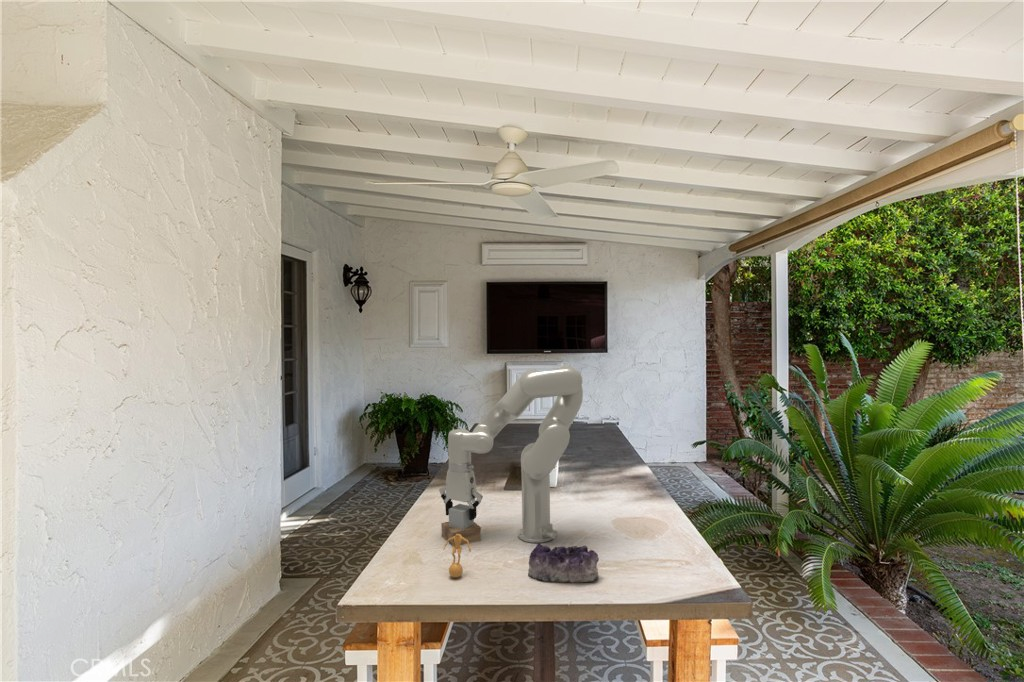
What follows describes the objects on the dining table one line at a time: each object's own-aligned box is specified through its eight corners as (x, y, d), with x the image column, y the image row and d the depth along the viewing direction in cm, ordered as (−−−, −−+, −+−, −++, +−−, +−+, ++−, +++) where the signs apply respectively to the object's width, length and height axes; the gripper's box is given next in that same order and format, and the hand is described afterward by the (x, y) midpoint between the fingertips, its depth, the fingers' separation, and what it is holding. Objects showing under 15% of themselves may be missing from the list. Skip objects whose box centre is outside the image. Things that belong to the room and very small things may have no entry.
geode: (529, 588, 156) (526, 551, 157) (527, 574, 168) (525, 540, 168) (602, 583, 156) (599, 546, 157) (595, 570, 168) (593, 536, 169)
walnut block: (480, 541, 189) (480, 526, 189) (453, 547, 184) (453, 532, 184) (468, 531, 198) (468, 517, 197) (441, 537, 193) (441, 523, 192)
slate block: (473, 523, 191) (473, 506, 191) (463, 529, 186) (463, 512, 186) (459, 520, 194) (459, 503, 194) (449, 526, 189) (448, 509, 189)
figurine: (439, 578, 162) (439, 537, 161) (446, 569, 168) (446, 529, 167) (467, 581, 160) (466, 540, 159) (473, 571, 166) (473, 532, 165)
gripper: (487, 467, 188) (488, 517, 189) (446, 460, 197) (447, 508, 198) (474, 472, 182) (475, 524, 183) (432, 466, 191) (433, 515, 191)
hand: (460, 516), depth 190 cm, fingers open, 9 cm apart
